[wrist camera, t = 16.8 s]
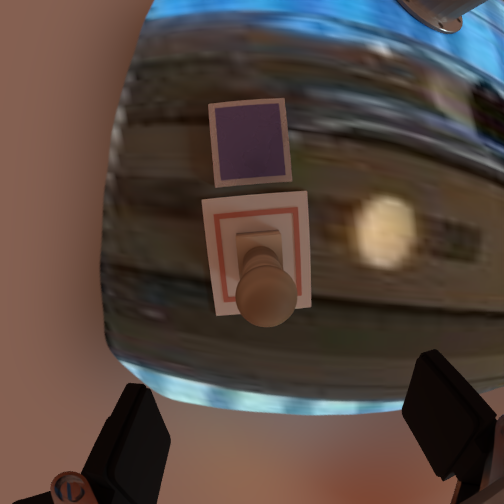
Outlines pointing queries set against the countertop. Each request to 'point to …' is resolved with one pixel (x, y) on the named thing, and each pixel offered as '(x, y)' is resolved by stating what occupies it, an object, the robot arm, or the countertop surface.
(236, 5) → the countertop surface
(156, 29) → the countertop surface
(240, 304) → the stamp
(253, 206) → the note card
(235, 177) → the ink pad
